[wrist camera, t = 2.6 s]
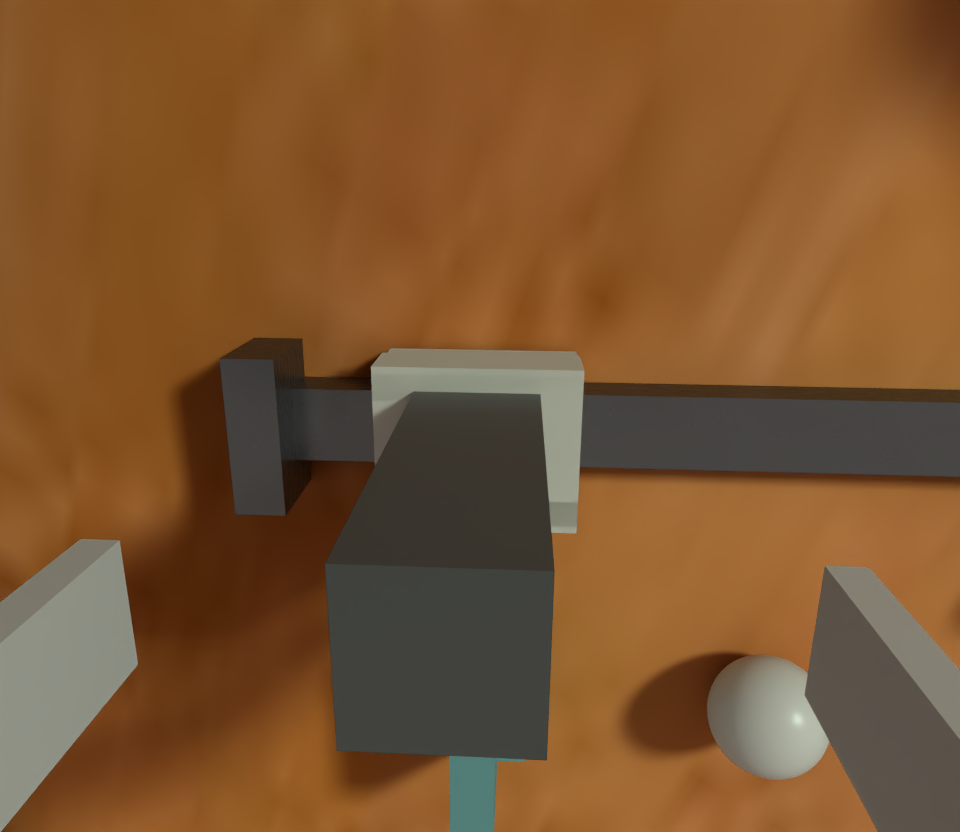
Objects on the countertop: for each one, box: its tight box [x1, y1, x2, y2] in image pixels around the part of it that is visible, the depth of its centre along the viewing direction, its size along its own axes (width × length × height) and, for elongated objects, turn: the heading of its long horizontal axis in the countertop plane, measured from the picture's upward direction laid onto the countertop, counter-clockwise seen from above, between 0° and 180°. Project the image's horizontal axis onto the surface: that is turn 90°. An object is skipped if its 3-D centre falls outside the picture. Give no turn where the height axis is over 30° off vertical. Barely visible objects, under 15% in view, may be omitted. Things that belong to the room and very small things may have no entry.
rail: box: [219, 338, 960, 516], centre depth 23 cm, size 33×5×3 cm, turn 90°
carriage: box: [325, 348, 584, 832], centre depth 20 cm, size 6×15×13 cm, turn 0°
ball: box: [707, 654, 829, 780], centre depth 26 cm, size 4×4×4 cm
